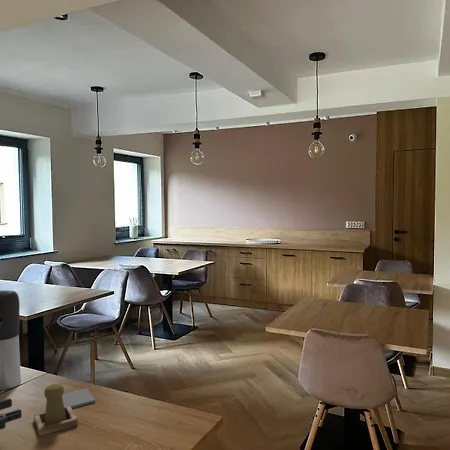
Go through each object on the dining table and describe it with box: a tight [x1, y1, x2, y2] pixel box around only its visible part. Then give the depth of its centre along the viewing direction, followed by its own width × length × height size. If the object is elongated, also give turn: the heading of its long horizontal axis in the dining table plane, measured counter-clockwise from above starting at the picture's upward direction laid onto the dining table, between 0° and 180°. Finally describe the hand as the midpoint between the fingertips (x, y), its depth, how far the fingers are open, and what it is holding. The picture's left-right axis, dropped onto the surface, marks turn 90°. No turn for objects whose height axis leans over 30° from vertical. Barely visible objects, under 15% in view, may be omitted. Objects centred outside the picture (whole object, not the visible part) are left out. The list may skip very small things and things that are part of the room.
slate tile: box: [62, 387, 96, 409], centre depth 136 cm, size 10×10×1 cm
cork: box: [43, 383, 68, 427], centre depth 122 cm, size 6×6×11 cm
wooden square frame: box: [33, 405, 79, 437], centre depth 122 cm, size 10×10×2 cm
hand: (16, 407), depth 115 cm, fingers open, 8 cm apart
